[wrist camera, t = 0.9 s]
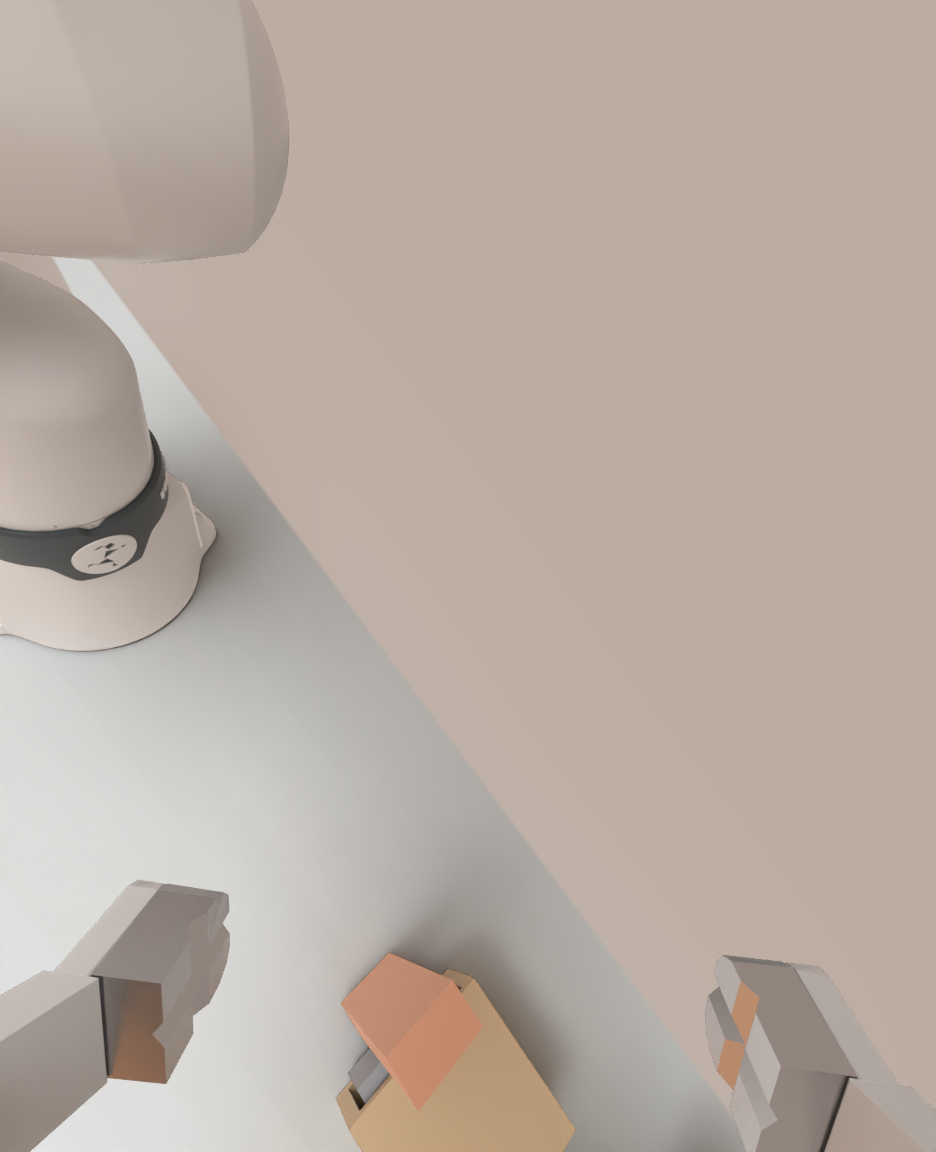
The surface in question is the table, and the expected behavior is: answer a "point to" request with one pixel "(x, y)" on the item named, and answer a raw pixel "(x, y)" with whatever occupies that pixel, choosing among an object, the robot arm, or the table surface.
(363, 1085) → the tray
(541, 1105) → the sleeve
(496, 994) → the table surface
